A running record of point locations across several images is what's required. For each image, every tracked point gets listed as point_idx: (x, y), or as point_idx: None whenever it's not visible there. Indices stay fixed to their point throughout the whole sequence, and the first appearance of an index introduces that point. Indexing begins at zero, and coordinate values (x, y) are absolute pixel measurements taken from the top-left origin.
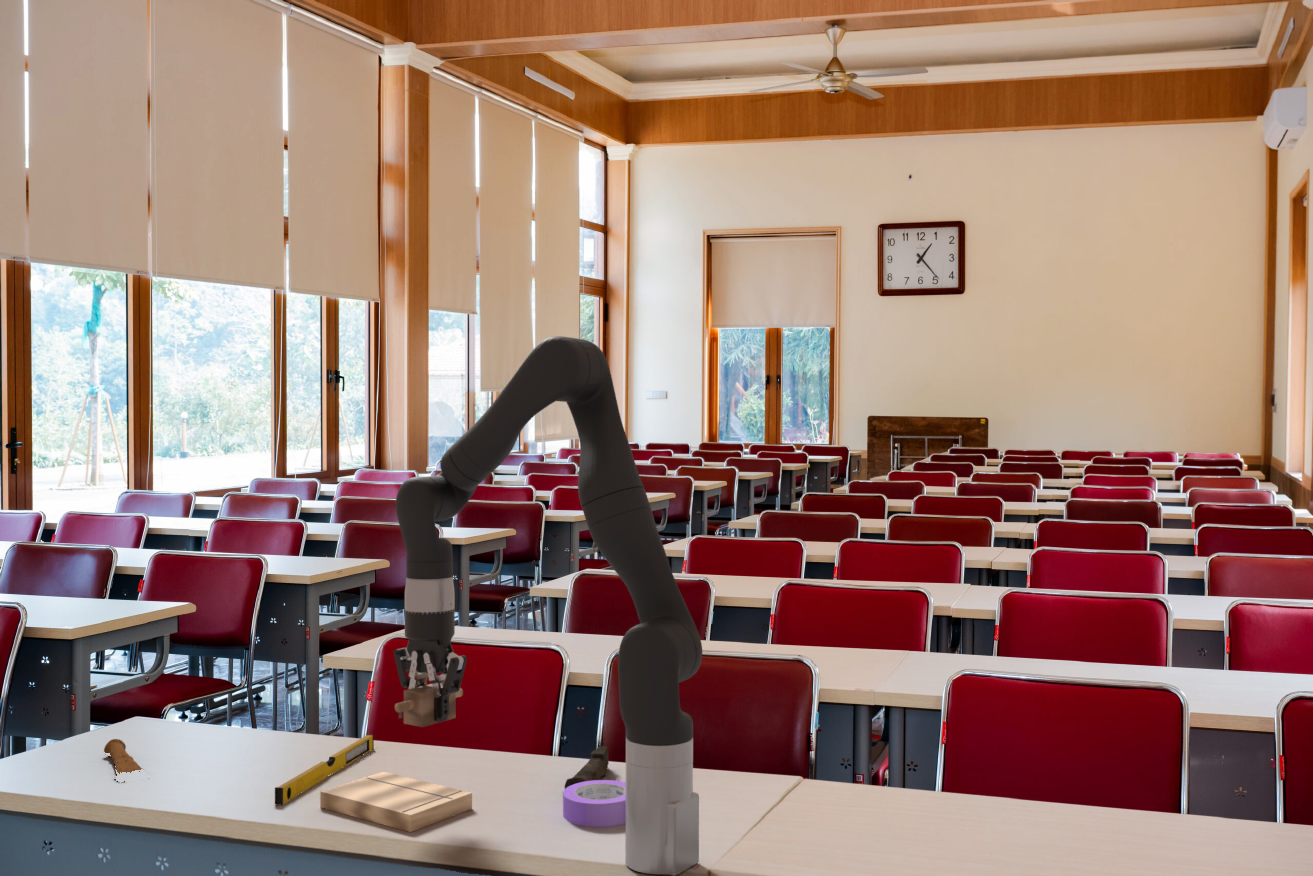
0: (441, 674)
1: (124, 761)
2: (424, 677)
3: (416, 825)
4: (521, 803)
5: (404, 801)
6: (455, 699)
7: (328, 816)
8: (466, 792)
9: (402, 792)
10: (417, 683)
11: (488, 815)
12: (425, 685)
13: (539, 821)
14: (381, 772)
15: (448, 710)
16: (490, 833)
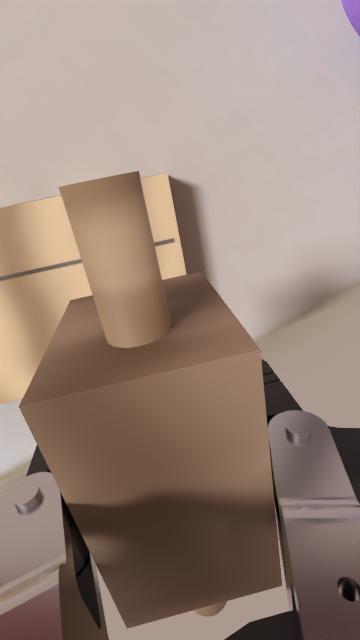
0: (292, 583)
1: None
2: (83, 601)
3: None
4: (213, 41)
5: None
6: (227, 306)
7: (19, 404)
8: (155, 182)
9: (53, 298)
10: (96, 594)
11: (223, 173)
12: (78, 512)
13: (336, 111)
14: None
15: (274, 374)
16: (305, 239)
